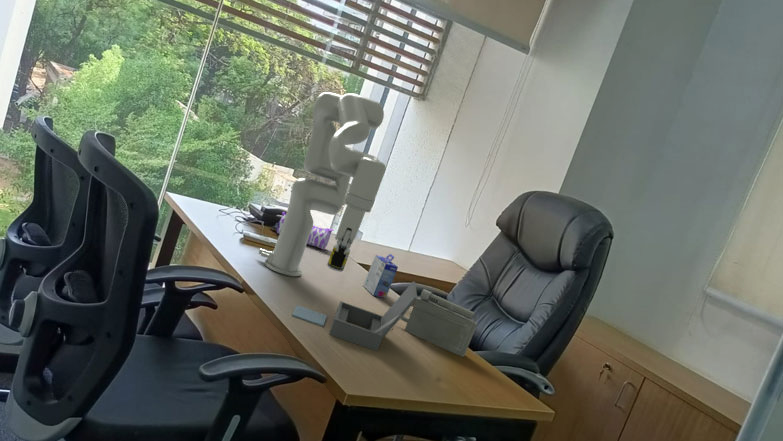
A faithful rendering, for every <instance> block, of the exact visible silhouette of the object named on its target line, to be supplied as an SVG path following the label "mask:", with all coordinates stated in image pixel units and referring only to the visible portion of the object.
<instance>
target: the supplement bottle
mask: <svg viewBox="0 0 783 441" xmlns="http://www.w3.org/2000/svg"><path fill="white" fill-rule="evenodd" d="M340 239H341V238H340ZM340 239H337V240H336V244H334V245H333V248H332V250H331V253H330V256H329V258H328V261H327V265H326V266H327V267H328V268H329V269H331V270H332V271H335V272H343V271H344V269H345V266H346V264H347V261H348V259H349V255H350V253H351V249H350V248H351V247H352V244H351V245H349V246H348V249H347V252H346V257H345V259H344V262H343V265H342V267H341V268H339V267H336V266H333V265H331V264H330V263H331V260H332V258H333V255H334V252H335V251H336V250H337V247H338V244H339V241H340ZM341 241H343V239H342V240H341ZM348 242H349V241H347V243H348ZM349 244H350V243H349ZM340 245H341V244H340ZM346 246H347V245H346Z"/></svg>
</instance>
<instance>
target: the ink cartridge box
mask: <svg viewBox="0 0 783 441" xmlns="http://www.w3.org/2000/svg"><path fill="white" fill-rule="evenodd" d="M394 259H395V256H394V255H392V254H391V253H389V254H388V255H387V256H386V257H384V256H381V255H374V257H373V260H372V262H371V264H370V268H368V272H367V275H366V277H365V280H364V283H363V285H362V286H363V287H364V289H366V290H367V291H368V292H369V293H370V294H371V295H372V296H374V297H377V298H381V299H384V300H385V299H386V298H387V296H388V293H389V292H390V288H391V285H392V283H393V281H394V278H395V276H396V273H397V270H398V266H397V265H396V264H395V263H393V260H394Z"/></svg>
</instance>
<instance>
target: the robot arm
mask: <svg viewBox="0 0 783 441" xmlns="http://www.w3.org/2000/svg"><path fill="white" fill-rule="evenodd" d="M312 111H313V112H312V131H311V136H310V139H309V143H308V146H307V150H306V152H305V158H304V162H303V168H304V171H305V172H306V173H308V174H310V175H313V176H315V177H318V178H322V179H324V180H328V181H330V182H331V184H329V183H325V182H323V181H319V180H316V179H313V178H309V177H300V178H297V179H296V180H295V181H294V182H293V184H292V187H291V191H290V197H289V198H290V199H289V202H288V207H287V211H286V212H285V214H286V216H285V219H284V222H283V225H282V228H281V231H280V234H278V238H277V240H276V243H275V245H274V246H275V247H274V249H273V250H269V251H268V250H266V249H264V248H260V249H259V251H258V254H259V255H260V256H261V257H263V258H267V259H265V261H264V266H266V267H267V268H268V269H269V270H271V271H274V272H276V273H278V274H281V275H285V276H290V277H299V276H301V275H302V273H303V272H302V270H301V268H299V267H300V264H301V261H302V259H303V256H304V253H305V250H306V247H307V245H308V244H307V242H308V239H309V236H310V233H311V230H312V227H313V226H314V218H313V216H312V213H311V211H317V212H320V213H324V214H327V215H337V214H339V213H340V211H341V210H342V208H343V205H344V204H345V205H346V207H345V209H344V212H343V214H342V217H341V220H340V223H339V226H338V228H337V231H336V235H335V237H334V238H335V241H337V240H338V239H340V238H341V239H340V241H339V244H338V247H337V250H336V251H335V252H334V255H333V258H332V260H331V263H330V264H331V265H333V266H336V267H339V268H341V267H342V265H343V262H344V259H345V257H346V252H347V249H348V246H349V245H351V246H352V245H353V242H354V241H355V239H356V236H357V234H358V232H359V230H360V228H361V225H362V222H363V219H364V217H365V214H366V213H371V210H372V208H373V205H374V202H375V199H376V197H377V195H378V192H379V189H380V187H381V184H382V181H383V178H384V176H385V173H386V170H387V168H386V164H385V163H384V162H382V161H380V160H379V158H378V157H376V156H374V155H373V154H372V155H371V154H368V153H365V152H363V151H360V150H356V149H354V148H352V147H349V146H350V145H351V146H353V145H358V144H361V143H363V142H365V140H367V139H368V138H369V136H370V132H371V131H372V130H373V131H374V130H377V129H378V128H380V126H381V125H382V123H383V121H384V118H385V114H384V112H385V111H384V107H383V106H382V104H381V103H380V102H378V101H376V100H375V99H374V100H373V99H370V98H368V97H365V96H362V95H360V94H357V93H353V92H352V93H351V92H349V93H345V94H343V95H340V94H339V93H335V92H330V91H325V92H322V93H320V94H319V95H318V96H317V98H316V100H315V102H314V105H313V110H312ZM334 122H335V123H337V124H339V129H336V126H335V124H334ZM348 145H349V146H348ZM351 178H352V179H351ZM350 180H351V183H350ZM349 184H350V185H349ZM348 188H349V189H348ZM342 239H343V241H341V240H342ZM347 241H349V242H348V243H347ZM349 243H350V244H349ZM340 244H341V245H340ZM346 245H347V246H346Z"/></svg>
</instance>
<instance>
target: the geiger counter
mask: <svg viewBox="0 0 783 441" xmlns="http://www.w3.org/2000/svg"><path fill="white" fill-rule="evenodd" d="M411 307H412V310H411V313H410V315H409V317H406V316H404V317H403V319H401V321H403V322H405V323H406V325H405V327H404V331H406V332H408V333H410V334H412V335H414V336H417V337H419V338H420V339H423V340H425V341H427V342H429V343H431V344H432V345H433V344H434V345H436V346H438V347H440V348H442V349H444V350H447V351H448V352H451V353H453V354H455V355H457V356H459V357H462V358H463V357H465V356H466V353H467V351H468V348H469V345H470V344H471V341H472V338H473V335H474V334H475V331H476V329H477V325H478V322H477V317H476V316H475V312H474V311H471V310H470V309H468V308H465V307H463V306H461V305H458V304H456V303H454V302H452V301H449V300H447V299H445V298H443V297H441V296H438V295H436V294H434V293H433V292H432V291H431V290H430V291H429V290H427V289H425V288H424V289H422V291H421V293H420V296H419V297H418V296H417V300H416V301H415V302H414V303H413V305H412V306H411ZM411 307H410V308H411ZM473 318H474V320H473Z"/></svg>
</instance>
